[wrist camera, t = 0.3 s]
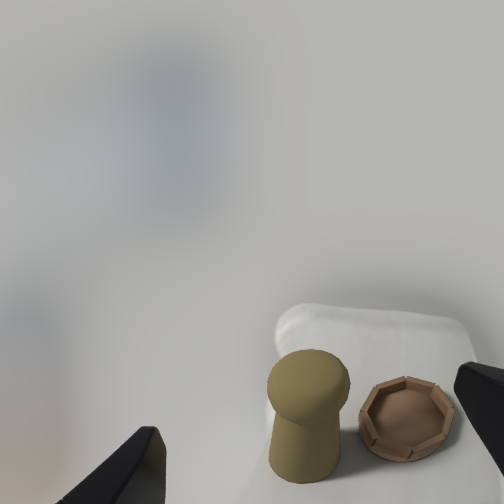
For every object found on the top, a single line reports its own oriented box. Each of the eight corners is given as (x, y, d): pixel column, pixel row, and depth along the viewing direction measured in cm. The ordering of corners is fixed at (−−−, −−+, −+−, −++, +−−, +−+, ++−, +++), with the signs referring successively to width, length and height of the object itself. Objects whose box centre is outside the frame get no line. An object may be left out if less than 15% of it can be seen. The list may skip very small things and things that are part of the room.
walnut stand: (460, 438, 17) (469, 425, 17) (377, 476, 17) (383, 466, 16) (420, 380, 25) (425, 367, 25) (346, 404, 25) (348, 391, 24)
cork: (316, 418, 24) (323, 325, 20) (353, 461, 19) (380, 374, 15) (257, 444, 22) (242, 355, 18) (288, 495, 17) (288, 421, 13)
